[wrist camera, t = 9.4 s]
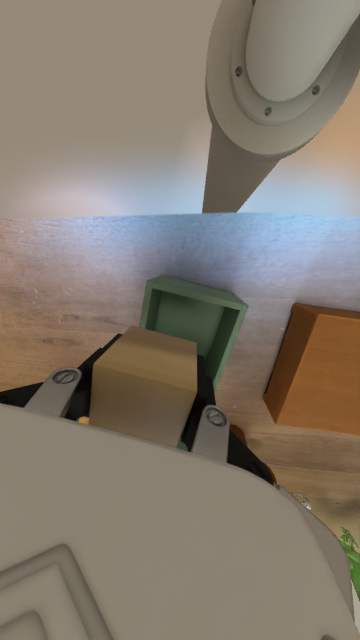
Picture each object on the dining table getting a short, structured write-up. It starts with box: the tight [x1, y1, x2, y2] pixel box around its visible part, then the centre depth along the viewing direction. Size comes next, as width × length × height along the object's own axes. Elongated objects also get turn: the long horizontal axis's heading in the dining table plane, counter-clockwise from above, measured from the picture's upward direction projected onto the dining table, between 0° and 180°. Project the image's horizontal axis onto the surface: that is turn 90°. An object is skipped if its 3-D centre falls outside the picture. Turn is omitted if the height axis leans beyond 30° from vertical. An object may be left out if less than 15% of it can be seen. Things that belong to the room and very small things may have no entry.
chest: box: [139, 275, 248, 394], centre depth 27 cm, size 16×13×9 cm
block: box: [89, 326, 197, 448], centre depth 10 cm, size 5×5×5 cm
